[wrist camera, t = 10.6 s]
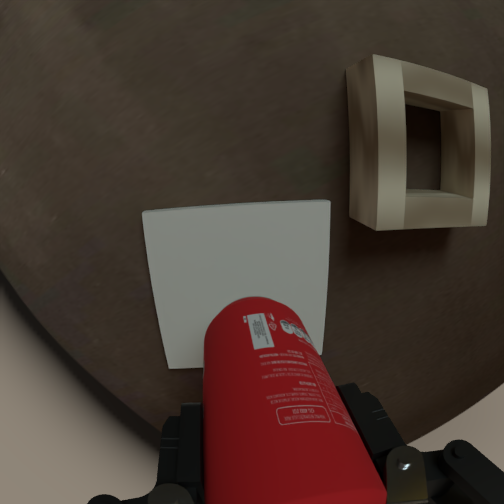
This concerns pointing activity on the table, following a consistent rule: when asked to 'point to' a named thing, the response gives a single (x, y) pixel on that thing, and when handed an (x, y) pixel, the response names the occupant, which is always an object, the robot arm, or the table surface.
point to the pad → (235, 266)
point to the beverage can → (276, 416)
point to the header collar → (394, 146)
